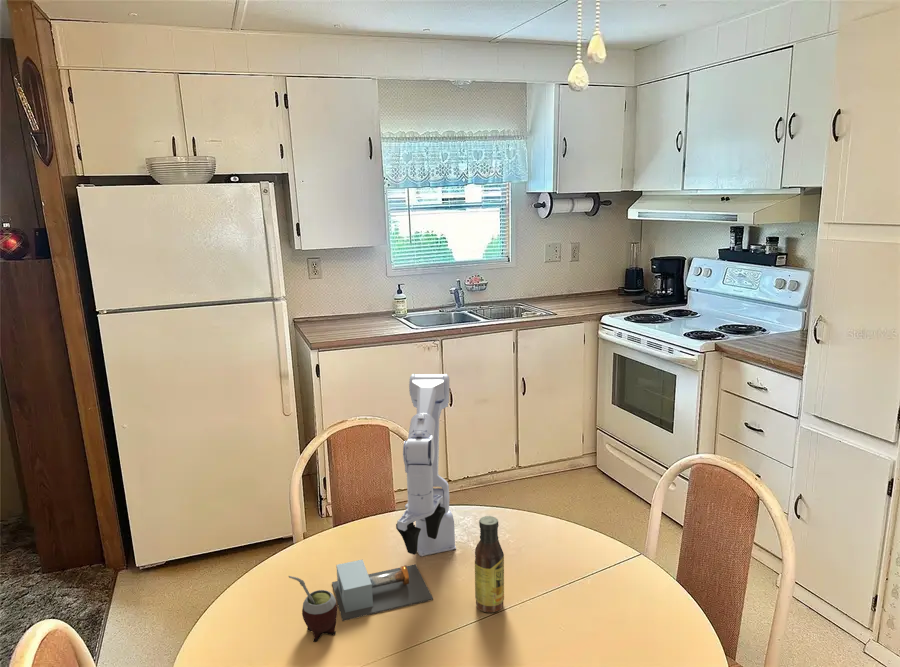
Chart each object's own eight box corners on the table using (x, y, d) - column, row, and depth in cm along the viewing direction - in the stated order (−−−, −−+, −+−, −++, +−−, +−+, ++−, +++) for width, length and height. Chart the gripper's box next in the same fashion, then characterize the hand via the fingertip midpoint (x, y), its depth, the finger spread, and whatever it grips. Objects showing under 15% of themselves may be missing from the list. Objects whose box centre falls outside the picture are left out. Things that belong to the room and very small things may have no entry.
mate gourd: (344, 623, 132) (340, 559, 129) (327, 649, 125) (322, 581, 122) (312, 618, 134) (307, 554, 131) (293, 643, 127) (287, 576, 124)
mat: (415, 565, 152) (415, 564, 152) (433, 599, 139) (433, 598, 139) (332, 583, 146) (332, 582, 146) (342, 621, 133) (342, 619, 133)
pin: (404, 577, 146) (404, 562, 145) (409, 587, 142) (408, 571, 142) (357, 588, 143) (356, 572, 142) (361, 598, 139) (360, 582, 138)
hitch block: (363, 581, 146) (362, 559, 145) (373, 607, 137) (371, 584, 136) (337, 587, 144) (336, 564, 143) (345, 614, 135) (343, 590, 134)
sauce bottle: (502, 616, 133) (501, 530, 129) (473, 612, 135) (471, 527, 130) (505, 596, 140) (505, 514, 135) (477, 594, 141) (476, 512, 137)
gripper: (425, 473, 149) (427, 526, 152) (385, 498, 137) (388, 554, 140) (450, 480, 145) (451, 534, 148) (411, 506, 133) (413, 564, 136)
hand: (422, 545), depth 144 cm, fingers open, 7 cm apart
